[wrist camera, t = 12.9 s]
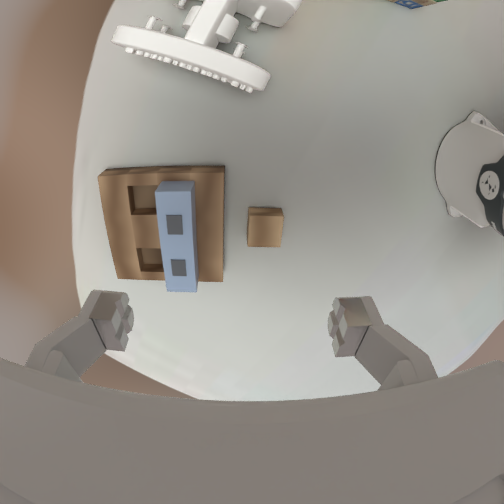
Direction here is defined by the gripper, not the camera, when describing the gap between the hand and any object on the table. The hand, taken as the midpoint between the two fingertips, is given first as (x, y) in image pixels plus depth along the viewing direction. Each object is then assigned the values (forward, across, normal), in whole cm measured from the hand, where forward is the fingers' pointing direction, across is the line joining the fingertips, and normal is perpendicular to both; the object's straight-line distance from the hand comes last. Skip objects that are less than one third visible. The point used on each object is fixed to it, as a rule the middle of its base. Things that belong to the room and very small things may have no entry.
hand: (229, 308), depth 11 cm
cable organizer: (+28, +4, -14) cm, 31 cm away
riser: (+27, -4, +11) cm, 30 cm away
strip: (+26, +7, +11) cm, 29 cm away
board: (+27, +10, +11) cm, 31 cm away
